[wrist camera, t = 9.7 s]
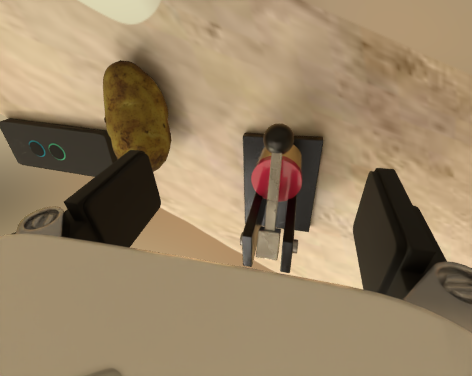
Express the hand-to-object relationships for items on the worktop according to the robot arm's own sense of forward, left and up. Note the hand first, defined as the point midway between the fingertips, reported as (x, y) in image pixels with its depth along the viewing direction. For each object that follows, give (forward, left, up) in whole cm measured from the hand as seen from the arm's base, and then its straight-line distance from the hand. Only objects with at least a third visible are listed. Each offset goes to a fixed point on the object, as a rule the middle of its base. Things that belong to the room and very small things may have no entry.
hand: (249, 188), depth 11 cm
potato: (+4, -18, -23) cm, 29 cm away
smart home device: (+11, -36, -23) cm, 44 cm away
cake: (+9, 0, -22) cm, 23 cm away
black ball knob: (+10, 0, -15) cm, 18 cm away
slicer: (+14, 0, -23) cm, 27 cm away
